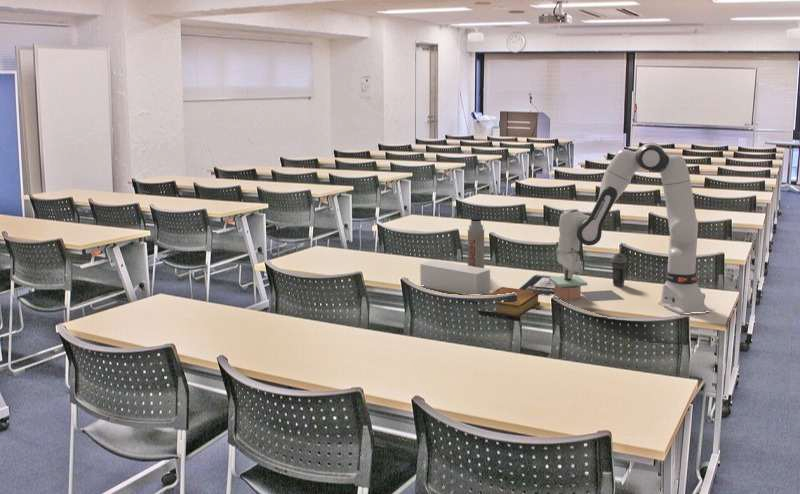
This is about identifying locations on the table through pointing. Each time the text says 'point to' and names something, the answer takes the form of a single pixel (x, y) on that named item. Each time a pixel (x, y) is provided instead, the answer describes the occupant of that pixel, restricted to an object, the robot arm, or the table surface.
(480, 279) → the white oblong block
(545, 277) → the sketchbook
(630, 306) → the table surface
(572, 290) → the bowl
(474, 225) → the thermos bottle
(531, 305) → the diary
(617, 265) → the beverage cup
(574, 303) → the table surface
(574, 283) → the teal square knobbed lid
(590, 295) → the mat
